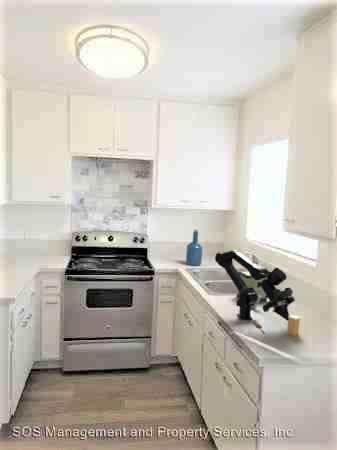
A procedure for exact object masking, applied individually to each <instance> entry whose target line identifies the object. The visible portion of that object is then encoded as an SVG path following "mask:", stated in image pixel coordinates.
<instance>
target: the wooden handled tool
mask: <svg viewBox="0 0 337 450" xmlns="http://www.w3.org/2000/svg"><path fill="white" fill-rule="evenodd" d="M251 322H252V324H253V325H254V326H255V327H256V328H257V329H259V330H260V331H261V333H262V334H263V335H266V332H264V330H263V329H262V328H263V326H262V325H261V324H260V323H259V322H258V321H257V320H256V319H252V321H251Z"/></svg>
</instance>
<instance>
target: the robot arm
mask: <svg viewBox="0 0 337 450" xmlns="http://www.w3.org/2000/svg"><path fill="white" fill-rule="evenodd" d="M214 259H215V262H216V263H217V264H218V266H220V267H221V268H222V269H224V270H225V272H226V274H228V276H229V279H230V280H231V281H232V282H233V284H234V286H235V288H236V290H237V289H238V290H239V297H240V298H239V297H238V298H239V299H237V300H236V302H235V303H236V306H237V307H239V310H238V312H239V313H236V316H237V317H238V318H239V319H240V320H250V321H251V320H252V321H253V318H252V315H251V314H252V313H251V312H252V308H251V306H254V305H255V303H256V304H257V300H258V296H257V293H256V292H255V290H254V288H253V287H250V288H249V287H248V286H247V285H246V284H245V282H244V281H243V279H242V278H241V276H240V275H239V271H238V270H237V268H236V267H235V265H234V264H233V263H234V262H233V260H234V261H235V262H237V263H238V264H239V265H241V267H243V269H246V271H247V272H249V273H250V275H251V276H252V277H253V278H254V279H255V280H262V279H264V280H263V281H261V282H258V285H257V288H259V287H262V289H263V290H264V292H265V294H266V296H265V297H266V298H267V300H269V301H268V302H266V303H265V304H263V305H262V310H263V312H264V313H267V312H268V313H269V310H270V309H272V308H273V310H272V313H275V314H277V315H279V316H280V317H282V318H283V319H284V320H286V321H287V322H288V316H290V314H289V309H288V307H289V306H290V305H291V304H292V303H294V302H295V301H296V298H294V296H293V292H294V291H293V289H291V287H290V286H289V287H285V288H284V290H282V291H281V289H279V288H277V287H278V286H279V285H280V284H282V283H284V281H286V279H287V278H288V277H287V274H286V273H285V272H284V270H282V269H279V267H275V268H274V269H273V270H272V271H270V270H268V269H267V268H266V267H264V266H262V265H260V264H258V263H255V262H254V261H252V260H250V259H249V258H248V257H247V256H245V255H244V254H242V253H241V252H240V250H237V249H234V250H233V249H232V250H230V251H222V252H217V253H216V254H215V257H214ZM266 278H268V279H266ZM276 286H277V287H276Z"/></svg>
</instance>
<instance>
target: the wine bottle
mask: <svg viewBox="0 0 337 450" xmlns="http://www.w3.org/2000/svg"><path fill="white" fill-rule="evenodd" d="M192 236H193V237H192V242H190V243H189V244H187V245H186V256H185V263H186V265H188V266H192V267H198V266H199V267H200V266H202V259H203V247H202V245H201V244H199V231H198V229H194V230H193V234H192Z"/></svg>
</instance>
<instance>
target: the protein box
mask: <svg viewBox="0 0 337 450" xmlns="http://www.w3.org/2000/svg"><path fill="white" fill-rule="evenodd" d="M238 273H239V275H240V276H241V278H242V279H243V281H244V282H245V284H246V285H247V286H248V287H249V288H250V287H253V288H254V290H255V292H256V293H257V296H259V295H260V296H262V297H261V299H260V300H259V302H261V301H262V302H263V301H265V302H266V301H268V298H266V297H265V296H266V294H265V292H264V290H263V289H262V287H259V288H257V285H258V282H261V281H263V280H264V279H262V280H255V279H254V278H253V277H252V276H251V275H250V273H249V271H238ZM266 279H268V278H266ZM236 297H237V298H239V299H240V297H239V290H238V289H237V288H236Z"/></svg>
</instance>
